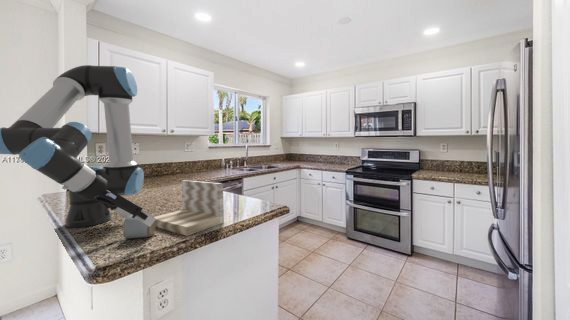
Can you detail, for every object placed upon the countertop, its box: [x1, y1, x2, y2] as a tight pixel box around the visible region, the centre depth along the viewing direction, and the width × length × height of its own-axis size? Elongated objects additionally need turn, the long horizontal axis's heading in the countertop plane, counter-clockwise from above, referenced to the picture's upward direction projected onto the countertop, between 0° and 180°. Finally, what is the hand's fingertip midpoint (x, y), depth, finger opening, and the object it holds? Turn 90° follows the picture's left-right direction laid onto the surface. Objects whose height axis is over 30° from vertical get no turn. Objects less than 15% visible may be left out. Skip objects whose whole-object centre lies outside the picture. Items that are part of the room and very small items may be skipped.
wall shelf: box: [153, 179, 225, 237], centre depth 97 cm, size 24×17×16 cm
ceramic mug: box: [122, 215, 157, 239], centre depth 85 cm, size 11×8×8 cm
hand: (141, 220), depth 84 cm, fingers open, 13 cm apart
